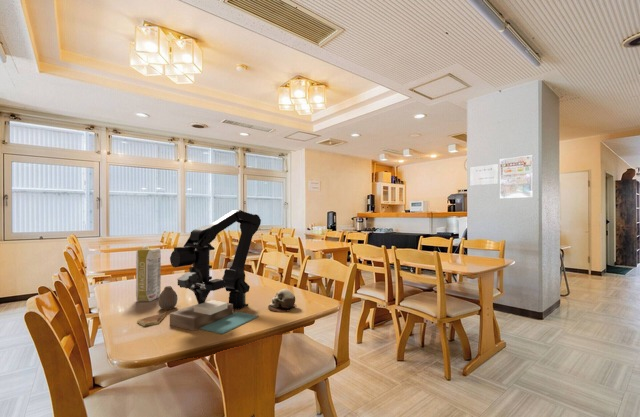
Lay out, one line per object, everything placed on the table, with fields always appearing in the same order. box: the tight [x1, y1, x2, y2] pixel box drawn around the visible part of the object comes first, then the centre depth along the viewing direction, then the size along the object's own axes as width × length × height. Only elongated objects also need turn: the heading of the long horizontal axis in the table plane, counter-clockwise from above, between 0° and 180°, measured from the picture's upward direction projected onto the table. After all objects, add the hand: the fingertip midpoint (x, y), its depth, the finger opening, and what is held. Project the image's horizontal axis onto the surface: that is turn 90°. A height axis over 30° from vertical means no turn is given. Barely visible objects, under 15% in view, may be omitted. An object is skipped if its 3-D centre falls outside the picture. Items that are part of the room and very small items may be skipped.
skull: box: [267, 288, 298, 313], centre depth 122 cm, size 12×10×10 cm
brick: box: [169, 299, 234, 332], centre depth 109 cm, size 18×12×4 cm, turn 153°
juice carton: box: [135, 245, 162, 302], centre depth 135 cm, size 9×8×24 cm
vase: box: [158, 285, 178, 311], centre depth 122 cm, size 7×7×9 cm
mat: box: [199, 311, 259, 335], centre depth 105 cm, size 18×10×1 cm, turn 153°
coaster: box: [194, 299, 228, 315], centre depth 107 cm, size 8×8×2 cm
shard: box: [136, 311, 168, 327], centre depth 108 cm, size 11×8×2 cm
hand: (201, 306), depth 109 cm, fingers closed
